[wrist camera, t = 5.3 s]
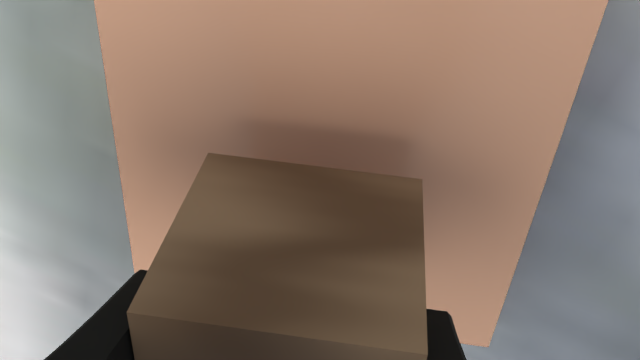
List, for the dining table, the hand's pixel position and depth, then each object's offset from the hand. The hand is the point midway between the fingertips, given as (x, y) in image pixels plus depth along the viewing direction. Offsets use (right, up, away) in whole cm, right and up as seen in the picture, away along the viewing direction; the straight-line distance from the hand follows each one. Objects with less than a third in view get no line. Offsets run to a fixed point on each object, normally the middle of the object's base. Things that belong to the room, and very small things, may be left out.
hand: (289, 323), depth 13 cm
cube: (0, +1, +3) cm, 3 cm away
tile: (+1, +4, +5) cm, 7 cm away
